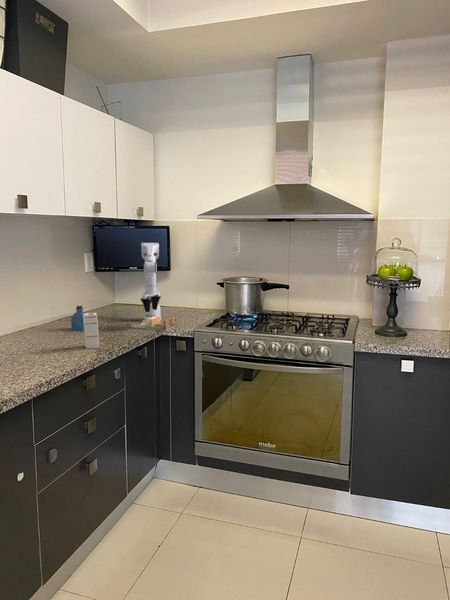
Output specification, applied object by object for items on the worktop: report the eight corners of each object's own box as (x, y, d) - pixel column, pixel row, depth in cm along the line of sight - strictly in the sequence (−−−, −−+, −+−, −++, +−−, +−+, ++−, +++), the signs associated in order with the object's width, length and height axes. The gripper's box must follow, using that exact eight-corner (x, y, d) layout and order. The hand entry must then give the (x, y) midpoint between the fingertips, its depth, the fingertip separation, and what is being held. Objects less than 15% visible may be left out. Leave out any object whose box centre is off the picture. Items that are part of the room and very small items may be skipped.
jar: (148, 324, 243) (147, 313, 242) (157, 325, 241) (156, 314, 240) (143, 326, 238) (143, 315, 237) (152, 327, 236) (152, 316, 235)
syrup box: (99, 347, 196) (97, 314, 194) (85, 348, 194) (83, 315, 192) (98, 344, 202) (96, 312, 199) (84, 345, 199) (82, 312, 197)
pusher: (158, 324, 243) (158, 316, 242) (167, 324, 241) (167, 317, 240) (150, 327, 234) (150, 319, 234) (158, 328, 233) (158, 320, 232)
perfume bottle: (82, 330, 229) (81, 307, 227) (71, 330, 230) (70, 306, 228) (89, 328, 235) (88, 305, 233) (78, 327, 236) (77, 305, 234)
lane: (143, 323, 248) (143, 314, 247) (176, 326, 241) (176, 317, 240) (131, 327, 237) (131, 318, 236) (165, 330, 230) (165, 321, 229)
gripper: (150, 283, 244) (151, 308, 246) (136, 286, 231) (137, 312, 233) (162, 283, 242) (162, 308, 244) (148, 286, 228) (149, 313, 230)
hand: (151, 310), depth 238 cm, fingers open, 7 cm apart
